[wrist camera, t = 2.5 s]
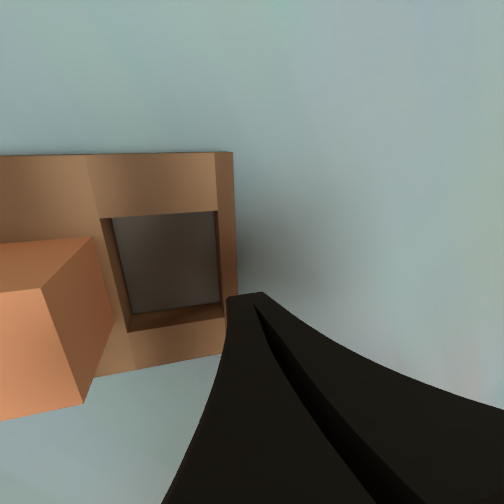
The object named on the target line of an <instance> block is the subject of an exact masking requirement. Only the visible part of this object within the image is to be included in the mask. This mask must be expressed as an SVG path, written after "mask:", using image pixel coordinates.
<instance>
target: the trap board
mask: <svg viewBox="0 0 504 504" xmlns="http://www.w3.org/2000/svg"><path fill="white" fill-rule="evenodd" d="M90 236H92V239H93V243H94V246H95V250H96V254H97V258H98V262H99V265H100V269H101V273H102V277H103V281H104V284H105V288H106V292H107V296H108V300H109V303H110V307H111V311H112V315H113V319H114V325H113V328H112V330H111V333H110V335H109V338H108V341H107V343H106V346H105V349H104V351H103V354H102V356H101V359H100V362H99V364H98V367H97V370H96V372H95V375H94V377H93V378H95V377H101V376H106V375H111V374H116V373H122V372H127V371H132V370H137V369H142V368H148V367H153V366H158V365H163V364H169V363H174V362H179V361H184V360H189V359H195V358H200V357H205V356H210V355H216V354H221V353H222V351H223V346H224V342H225V336H226V329H227V316H226V299H227V298H228V297H229V296H235V295H238V283H237V257H236V230H235V203H234V176H233V152H176V153H119V154H61V155H4V156H0V244H4V243H17V242H29V241H41V240H53V239H66V238H78V237H90ZM215 237H216V238H215ZM217 266H218V267H217ZM219 295H220V296H219Z"/></svg>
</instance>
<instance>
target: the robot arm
mask: <svg viewBox="0 0 504 504" xmlns="http://www.w3.org/2000/svg"><path fill="white" fill-rule="evenodd" d="M226 316H227V329H226V336H225V342H224V346H223V351H222V355H221V360H220V363H219V367H218V370H217V374H216V377H215V380H214V383H213V387H212V389H211V392H210V395H209V398H208V400H207V403H206V406H205V409H204V411H203V414H202V416H201V419H200V421H199V424H198V426H197V429H196V431H195V433H194V435H193V438H192V440H191V442H190V444H189V447H188V449H187V451H186V453H185V456H184V458H183V460H182V462H181V465H180V467H179V469H178V471H177V473H176V475H175V477H174V479H173V481H172V484H171V485H170V487H169V489H168V491H167V493H166V495H165V497H164V499H163V501H162V503H161V504H504V410H502V409H499V408H496V407H493V406H489V405H486V404H483V403H480V402H476V401H473V400H470V399H467V398H464V397H461V396H458V395H455V394H453V393H450V392H447V391H444V390H442V389H439V388H436V387H433V386H431V385H428V384H425V383H423V382H420V381H418V380H415V379H413V378H410V377H407V376H405V375H403V374H400V373H398V372H396V371H393V370H391V369H389V368H387V367H384V366H382V365H380V364H378V363H375V362H373V361H371V360H369V359H367V358H365V357H363V356H361V355H359V354H357V353H355V352H353V351H351V350H349V349H348V348H346V347H344V346H342V345H340V344H338V343H336V342H335V341H333V340H331V339H329V338H328V337H326V336H325V335H323V334H321V333H320V332H318V331H317V330H315V329H313V328H312V327H310V326H309V325H307V324H306V323H304V322H303V321H301V320H300V319H298V318H297V317H296V316H294V315H293V314H291V313H290V312H289V311H287V310H286V309H285V308H283V307H282V306H281V305H279V304H278V303H277V302H275V301H274V300H273V299H272V298H270V297H269V296H268V295H266V294H265V293H264V292H256V293H249V294H242V295H235V296H229V297H228V298H227V299H226Z"/></svg>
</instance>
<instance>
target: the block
mask: <svg viewBox="0 0 504 504" xmlns="http://www.w3.org/2000/svg"><path fill="white" fill-rule="evenodd" d="M113 325H114V319H113V315H112V311H111V307H110V303H109V300H108V296H107V292H106V288H105V284H104V281H103V277H102V273H101V269H100V265H99V262H98V258H97V254H96V250H95V246H94V243H93V239H92V236H90V237H78V238H66V239H53V240H41V241H29V242H17V243H4V244H0V421H4V420H8V419H13V418H18V417H23V416H27V415H32V414H37V413H42V412H46V411H51V410H56V409H61V408H65V407H70V406H75V405H80V404H84V401H85V398H86V396H87V393H88V391H89V388H90V385H91V383H92V380H93V377H94V375H95V372H96V370H97V367H98V364H99V362H100V359H101V356H102V354H103V351H104V349H105V346H106V343H107V341H108V338H109V335H110V333H111V330H112V328H113Z"/></svg>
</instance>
